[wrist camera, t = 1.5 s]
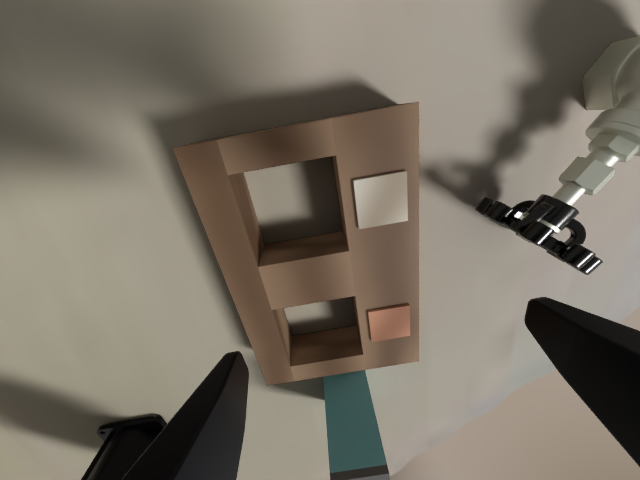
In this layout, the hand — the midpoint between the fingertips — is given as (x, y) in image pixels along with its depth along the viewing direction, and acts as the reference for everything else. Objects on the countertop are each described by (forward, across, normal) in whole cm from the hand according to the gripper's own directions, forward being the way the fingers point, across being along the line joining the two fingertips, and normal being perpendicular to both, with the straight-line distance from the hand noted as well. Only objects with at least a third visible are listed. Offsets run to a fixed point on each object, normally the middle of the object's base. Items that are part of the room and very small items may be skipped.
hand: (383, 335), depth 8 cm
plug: (+11, +2, +18) cm, 21 cm away
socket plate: (+11, +2, +3) cm, 11 cm away
